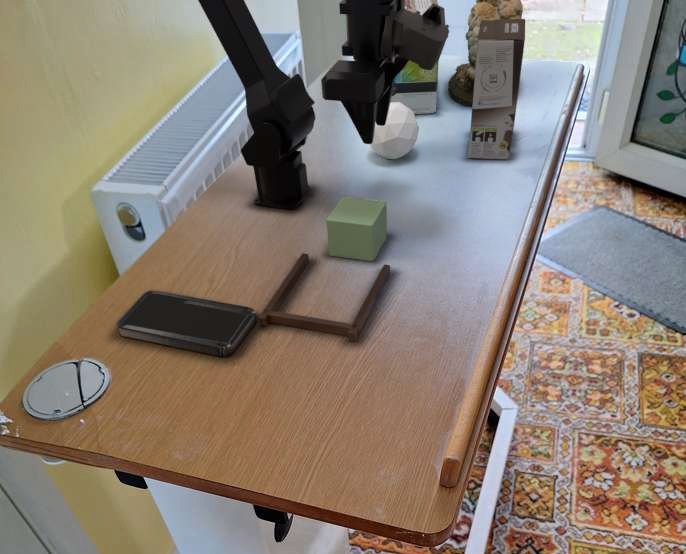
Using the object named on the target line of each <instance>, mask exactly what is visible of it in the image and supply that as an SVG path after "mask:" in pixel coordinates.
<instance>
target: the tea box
mask: <svg viewBox="0 0 686 554" xmlns="http://www.w3.org/2000/svg"><path fill="white" fill-rule="evenodd" d="M433 3H434V4H437V5H439V2H438V0H405V9H406V10H409V11H411V12H413V13H416V11H419V12H420V15H423V13H424V12H425V11H426V10H427V9H428V8H429V7H430V6H431V5H432V4H433ZM439 62H440V59H439V60H438V61H437V63H436V64H435V66H434V68H433V69H432V70H425V69H422V68H420V67H419V65H418V64H416V63H414V62H412V61H409V62H408V63H407V65H406V66H405V67H404V68H403V70H402V71H401V72H400V73H399V74H398V75H397V76H396V80H395V84H394V88H393V92H392V97H391V102H390V103H394V102H400V103H402V104H403V105H405V106H406V107H408V108H409V109H411V110H412V111H413V112H414V115H420V114H421V115H422V114H433V113H436V111H437V101H438V99H437V98H438V84H439V83H438V79H439V65H440V64H439Z"/></svg>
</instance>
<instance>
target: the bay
mask: <svg viewBox="0 0 686 554" xmlns="http://www.w3.org/2000/svg"><path fill="white" fill-rule="evenodd" d="M309 259H310V258H309V254H308V253H305V252H304V253H301V255H300V256H299V258H298V259H297V261H296V262H295V264H294V265H293V266H292V268H291V269H290V270H289V272H288V274H287V276H286V277H285V278H284V280H283V281H282V283H280V286H279V287H278V288H277V290H276V291H275V293H273V296H272V297H271V299H270V300H269V302H268V303H267V304H266V306H265V308H264V309H263V310H262V312H261V313H260V315H259V316H258V322H259V325H260V327H267V326H268V325H269V323H270V324H277V325H280V326H281V325H283V326H287V327H294V328H300V329H304V330H312V331H317V332H324V333H330V334H334V335H339V336H340V335H341V336H347V340H348V341H349V342H356V341H357V339H358V336H359V335H360V332H361V331H362V329H363V326H364V325H365V323H366V321H367V319H368V318H369V315H370V313H371V311H372V309H373V307H374V306H375V304H376V302H377V300H378V298H379V295H380V293H381V292H382V290H383V288H384V286H385V284H386V283H387V280H388V278H389V276H390V274H391V265H390V264H383V265H382V268H381V269H380V271H379V272H378V275H377V277H376V279H375V281H374V282H373V285H372V286H371V288H370V289H369V292H368V294H367V296H366V298H365V299H364V301H363V302H362V305H361V307H360V308H359V311H358V312H357V314H356V316H355V318H354V320H353V322H352V323H350V322H343V321H338V320H337V321H336V320H331V319H326V318H325V319H324V318H320V317H319V318H318V317H312V316H306V315H301V314H300V315H299V314H293V313H288V312H282V311H278V310H279V308H280V307H281V305H282V303H283V302H284V300H285V299H286V297H287V296H288V295H289V293H290V291H291V290H292V288H293V287H294V285H295V284H296V282H297V281H298V280H299V278H300V277H301V275H302V273H303V272H304V270H305V268H306V267H307V266H308V264H309V263H310V260H309Z"/></svg>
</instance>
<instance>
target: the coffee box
mask: <svg viewBox="0 0 686 554" xmlns="http://www.w3.org/2000/svg"><path fill="white" fill-rule="evenodd" d="M525 41H526V18H521V19H498V20H481V23H480V29H479V34H478V41H477V53H476V65H475V77H474V90H473V103H472V106H471V119H470V130H469V143H468V155H467V157H468V159H486V160H509V159H510V155H511V148H512V142H513V136H514V135H513V134H514V127H515V121H516V115H517V114H516V113H517V107H518V98H519V91H520V81H521V74H522V66H523V59H524V58H523V57H524V49H525Z"/></svg>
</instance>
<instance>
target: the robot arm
mask: <svg viewBox="0 0 686 554" xmlns="http://www.w3.org/2000/svg"><path fill="white" fill-rule="evenodd" d="M197 1H198V3H199V6H200V7H201V9H202V11H203V12H204V14H205V16H206V18H207V20H208V22H209V23H210V25H211V27H212V29H213V31H214V33H215V35H216V37H217V39H218V40H219V42H220V45H221V46H222V48H223V50H224V52H225V53H226V56H227V58H228V59H229V61H230V63H231V65H232V67H233V69H234V70H235V72H236V74H237V76H238V78H239V80H240V82H241V84H242V86H243V89H244V94H245V96H244V97H245V103H246V104H245V107H246V116H247V119H248V122H249V124H250V126H251V129H252V132H253V133H252V135H251V136H250V137H249V139H248V140H247V141H246V142H245V143H244V145H243V146H242V148H240V153H241V155H242V157H243V159H244V162H245V164H246V166H250V167H252V168H253V174H254V178H255V179H254V180H255V185H256V191H257V196H256V197H255V198H254V199H253V205H254V206H261V207H270V208H278V209H279V208H280V209H286V210H295V209H296V208H298V206H299V204H300V203H301V202H302V200H303V199H304V198H305V197H306V195H307V194H308V193H309V192H310V190H311V186H310V184H309V181H308V172H307V171H308V170H307V165H306V162H303V155H302V151H301V150H299V149H300V148H301V147H303V146H305V144H306V143H307V139H308V135H310V134H311V132H312V131H313V129H314V127H315V121H316V113H315V110H314V107H313V105H315V100H314V99H313V98H312V97H311V95H309V93H308V91H307V89H306V86H305V83H304V79H303V78H302V76H301V75H300V73H296V74H294V75H292V76H291V77H290V76H289V75H288V74H287V73H285V72H284V71H283V70H281V68H279V67H278V65H277V63H276V61H275V59H274V57H273V55H272V53H271V51H270V49H269V47H268V46H267V43H266V41H265V40H264V37H263V34H262V33H261V31H260V29H259V27H258V24H257V23H256V21H255V18H254V17H253V15H252V14H251V12H250V10H249V7H248V6H247V3H246V1H245V0H197ZM338 5H339V6H338V7H339V15H345V26H346V41H345V42H344V43H343V44H342V45H341V56H342V57H352V59H353V60H345V59H338V60H337V61H336V62H335V63H334V64H333V65H332V66H331V67H330V68H329V69H328V71H327V72H326V73H325V75H324V76H323V77H322V78H321V79H320V85H321V95H322V99H324V100H325V101H334V102H335V101H336V102H340V103H341V104H342V106H343V108H344V109H345V111H346V113H347V114H348V116H349V118H350V120H351V122H352V124H353V126H354V128H355V129H356V131H357V133H358V135H359V137H360V139H361V141H362V143H363V144H365V145H370V144H372V142H373V138H374V131H375V122H376V124H377V125H379V126H384V125H385V124H386V120H387V115H388V111H389V106H390V102H391V97H392V92H393V88H394V84H395V80H396V76H397V75H398V74H399V73H400V72H401V71H402V70H403V68H404V67H405V66H406V65H407V63H408V62H409V61H412V62H414V63H416V64H418V65H419V67H420V68H422V69H425V70H432V69H433V68H434V66H435V64H436V63H437V61H438V60H439V61H440V58H441V55H442V52H443V50H444V47H445V45H446V41H447V40H448V38H449V34H450V29H449V28H450V25H449V24H448V23H447V24H446V14H445V8H444V7H443V6H441V5H439V4H438V5H437V4H434V3H433V4H432V5H431V6H430V7H429V8H428V9H427V10H426V11H425V12H424V13H423V15H420V12H419V11H416V13H413V12H411V11H409V10H406V9H405V0H341V1H340V2H339V4H338Z"/></svg>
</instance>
